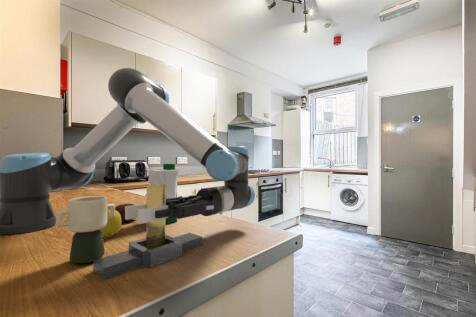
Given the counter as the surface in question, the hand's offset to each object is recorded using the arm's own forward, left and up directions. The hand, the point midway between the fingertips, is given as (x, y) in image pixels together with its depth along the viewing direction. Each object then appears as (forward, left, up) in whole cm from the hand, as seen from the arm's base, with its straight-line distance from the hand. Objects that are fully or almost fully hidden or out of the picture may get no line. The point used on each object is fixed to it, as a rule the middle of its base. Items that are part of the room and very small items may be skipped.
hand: (132, 214), depth 48 cm
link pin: (0, +5, -10) cm, 11 cm away
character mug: (-9, -5, -10) cm, 15 cm away
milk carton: (-25, +23, -10) cm, 36 cm away
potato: (-35, +15, -10) cm, 40 cm away
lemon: (-21, +4, -10) cm, 24 cm away
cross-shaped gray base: (0, +5, -10) cm, 11 cm away
